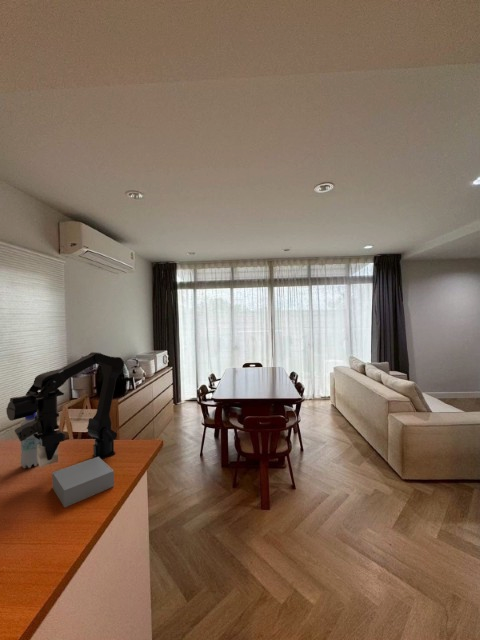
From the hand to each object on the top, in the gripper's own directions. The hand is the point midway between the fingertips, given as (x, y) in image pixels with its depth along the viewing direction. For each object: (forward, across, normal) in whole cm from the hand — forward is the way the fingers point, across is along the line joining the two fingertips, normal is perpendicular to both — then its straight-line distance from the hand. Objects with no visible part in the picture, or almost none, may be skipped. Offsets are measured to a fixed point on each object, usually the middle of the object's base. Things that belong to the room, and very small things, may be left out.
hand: (47, 457), depth 93 cm
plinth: (+8, +13, +7) cm, 17 cm away
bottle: (+8, -17, -2) cm, 19 cm away
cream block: (+2, 0, 0) cm, 2 cm away
